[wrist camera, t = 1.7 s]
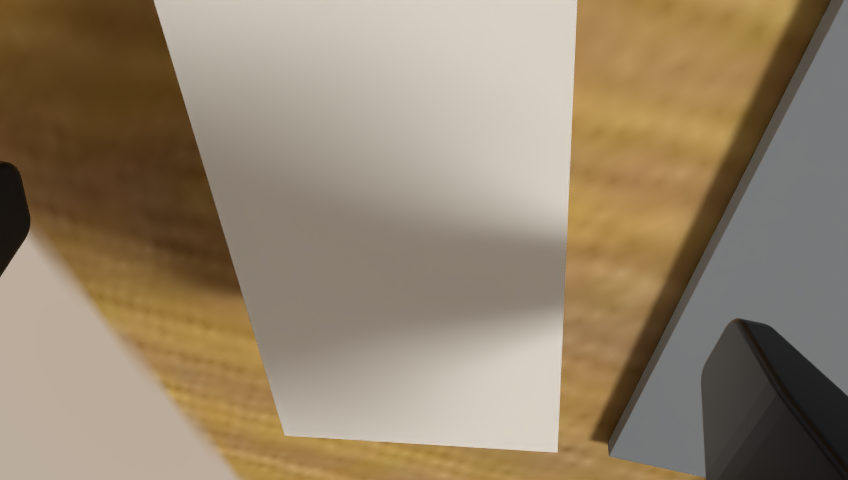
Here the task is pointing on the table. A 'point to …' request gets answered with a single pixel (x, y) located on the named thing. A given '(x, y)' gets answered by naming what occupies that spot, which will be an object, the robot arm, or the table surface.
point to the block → (392, 205)
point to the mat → (762, 261)
